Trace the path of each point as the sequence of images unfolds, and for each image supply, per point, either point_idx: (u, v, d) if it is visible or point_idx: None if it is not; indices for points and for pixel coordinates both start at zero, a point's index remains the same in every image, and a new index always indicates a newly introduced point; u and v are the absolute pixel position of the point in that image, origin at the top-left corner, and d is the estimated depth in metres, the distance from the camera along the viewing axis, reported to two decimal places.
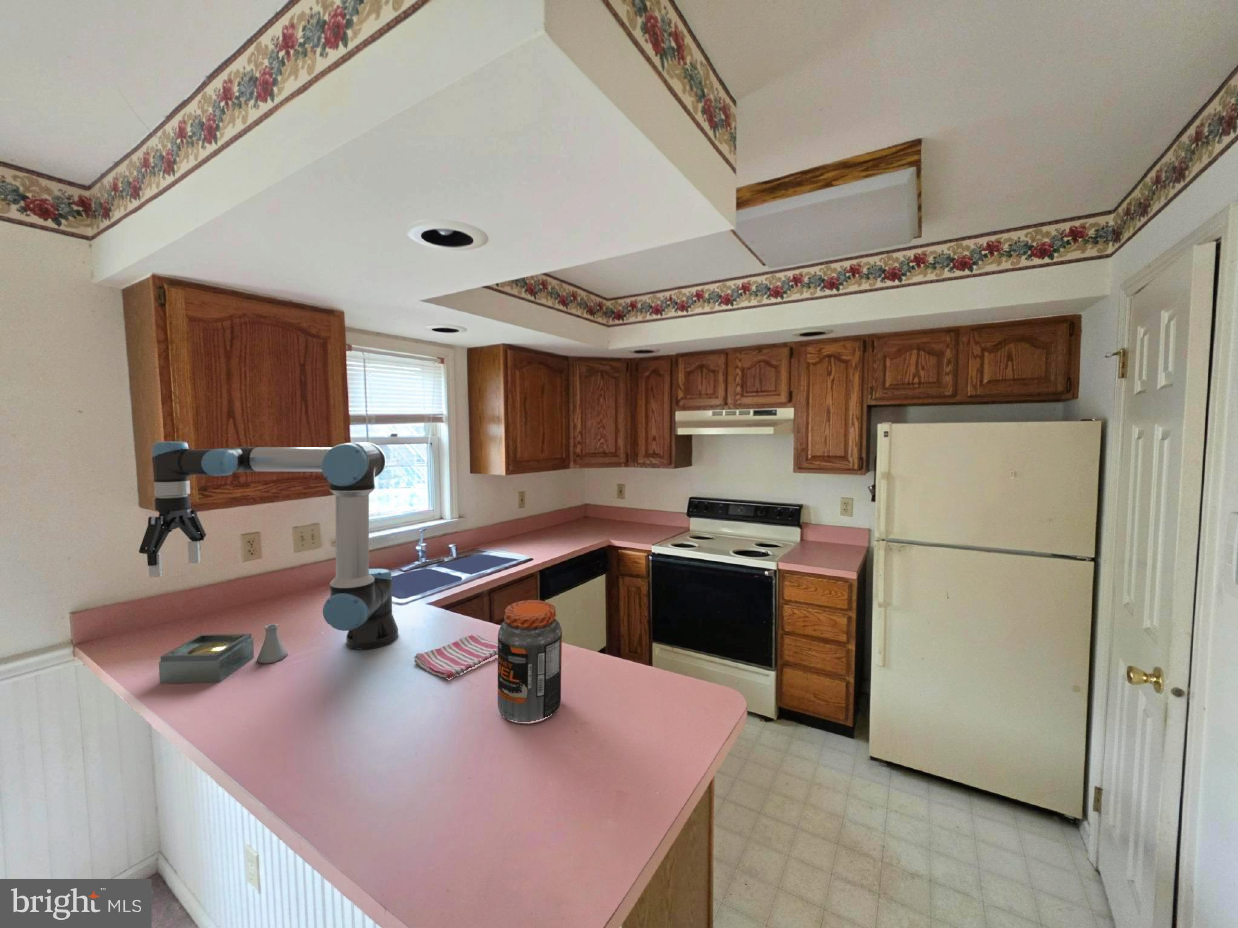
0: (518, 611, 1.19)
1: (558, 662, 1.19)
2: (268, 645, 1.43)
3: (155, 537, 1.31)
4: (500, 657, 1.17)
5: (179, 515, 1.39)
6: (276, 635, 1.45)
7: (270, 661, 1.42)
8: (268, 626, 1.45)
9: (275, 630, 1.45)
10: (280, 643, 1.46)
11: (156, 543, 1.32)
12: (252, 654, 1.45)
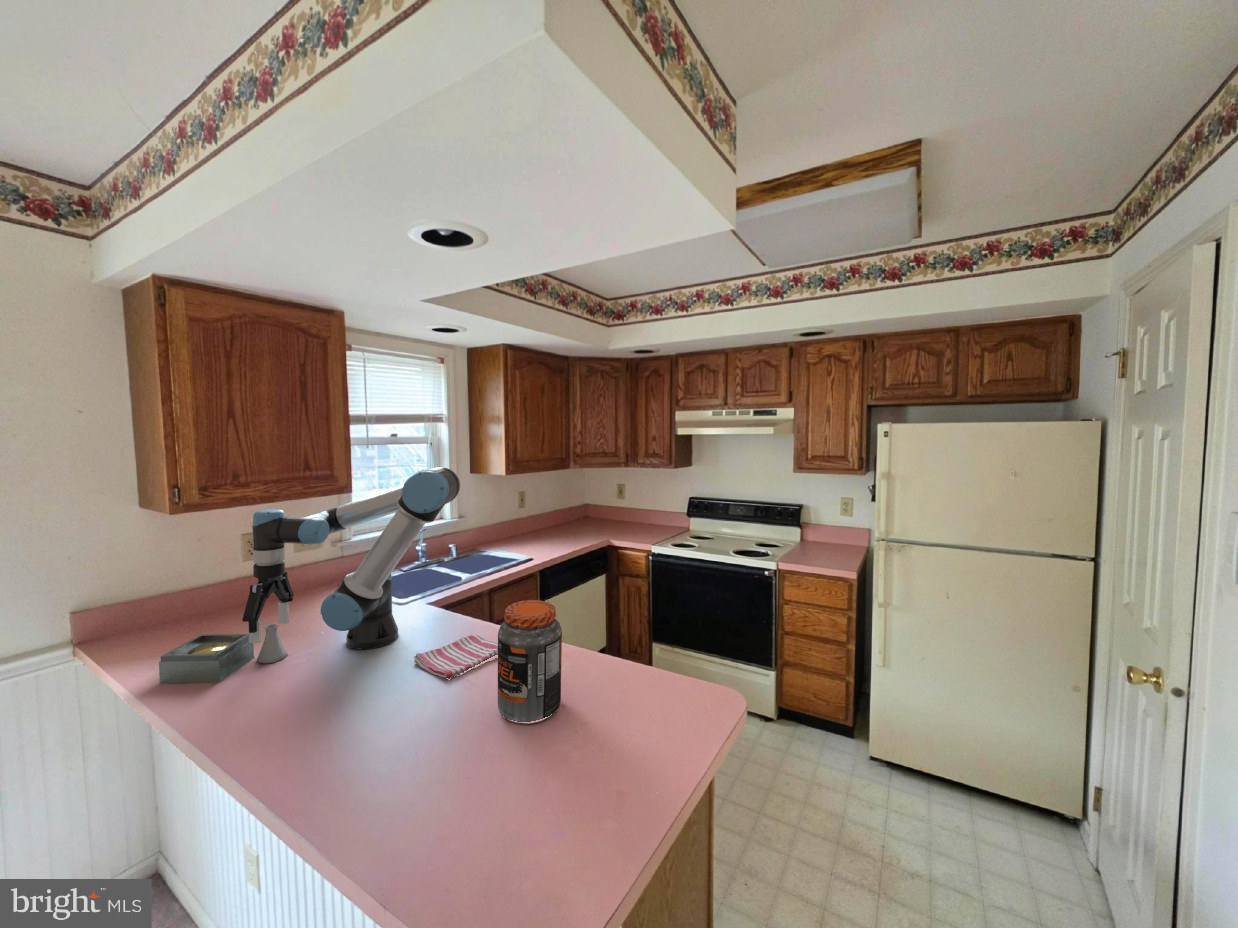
0: (518, 611, 1.19)
1: (558, 662, 1.19)
2: (268, 645, 1.43)
3: (256, 605, 1.36)
4: (500, 657, 1.17)
5: (274, 580, 1.44)
6: (276, 635, 1.45)
7: (270, 661, 1.42)
8: (268, 626, 1.45)
9: (275, 630, 1.45)
10: (280, 643, 1.46)
11: (256, 610, 1.37)
12: (252, 654, 1.45)
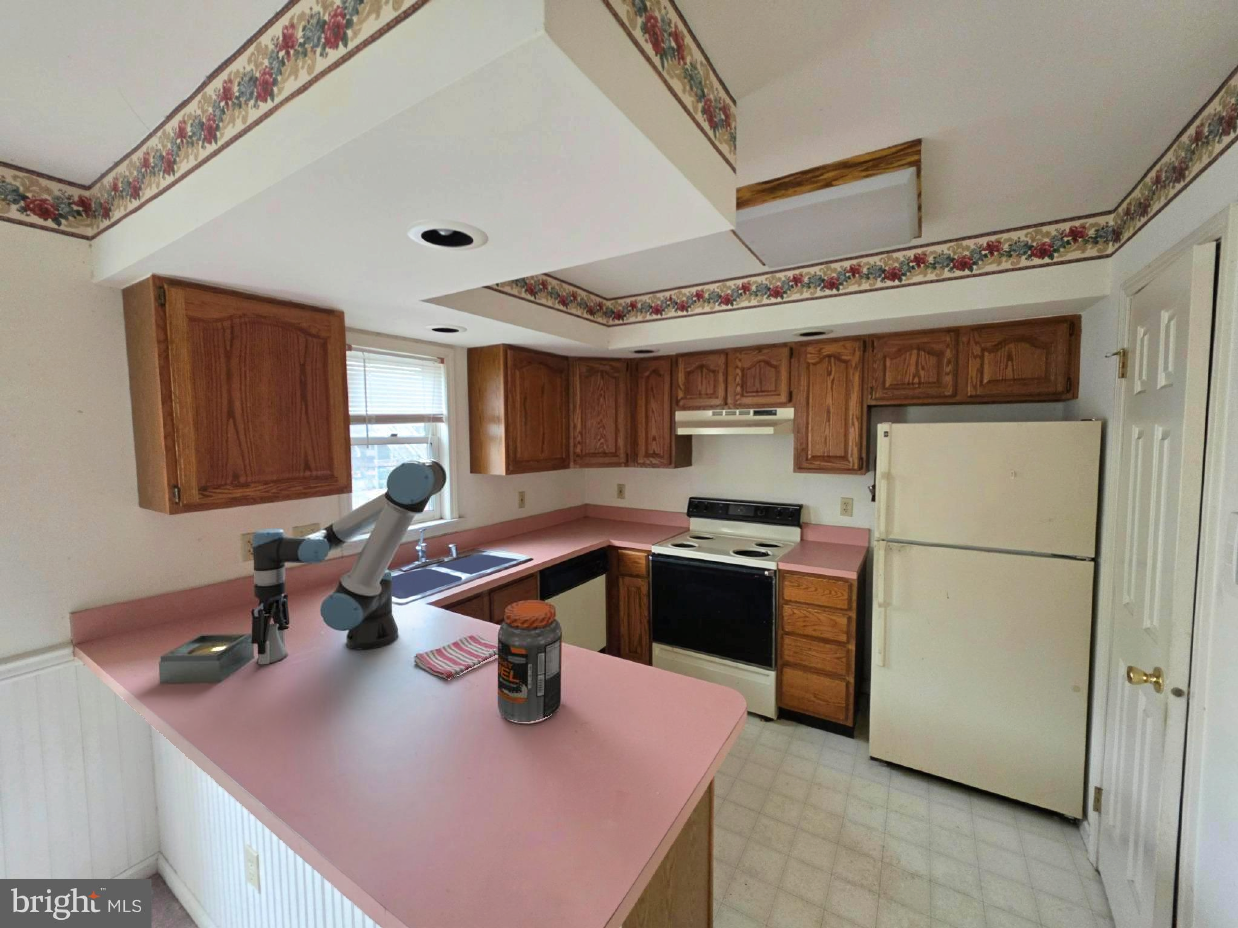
0: (518, 611, 1.19)
1: (558, 662, 1.19)
2: (269, 644, 1.43)
3: (262, 628, 1.39)
4: (500, 657, 1.17)
5: (275, 597, 1.45)
6: (276, 635, 1.45)
7: (270, 661, 1.42)
8: None
9: (275, 630, 1.45)
10: (280, 643, 1.46)
11: (263, 633, 1.40)
12: (252, 654, 1.45)
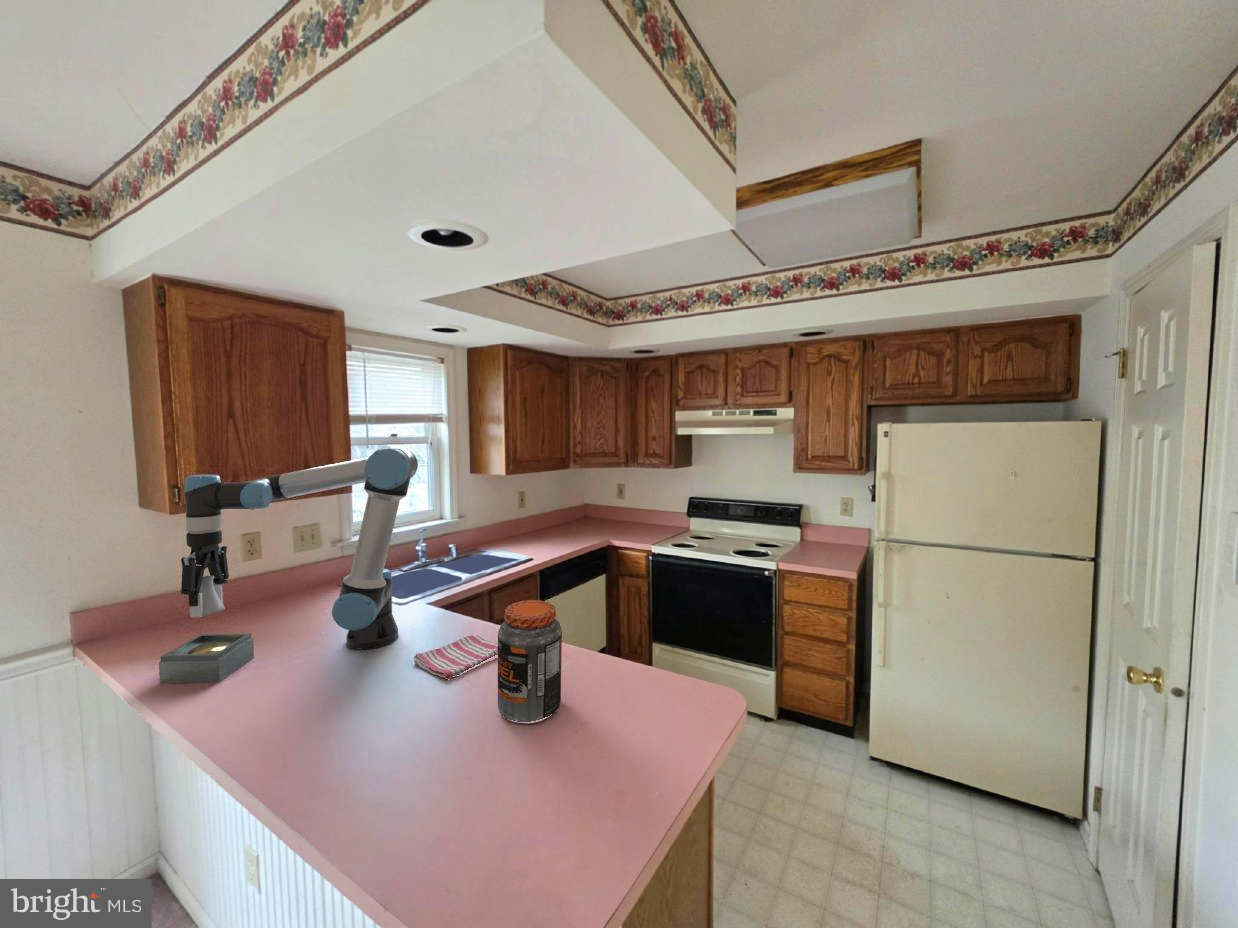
0: (518, 611, 1.19)
1: (558, 662, 1.19)
2: (202, 597, 1.34)
3: (193, 578, 1.30)
4: (500, 657, 1.17)
5: (211, 547, 1.36)
6: (211, 587, 1.36)
7: (204, 614, 1.33)
8: (203, 578, 1.36)
9: (210, 582, 1.36)
10: (216, 596, 1.37)
11: (195, 583, 1.31)
12: (252, 654, 1.45)
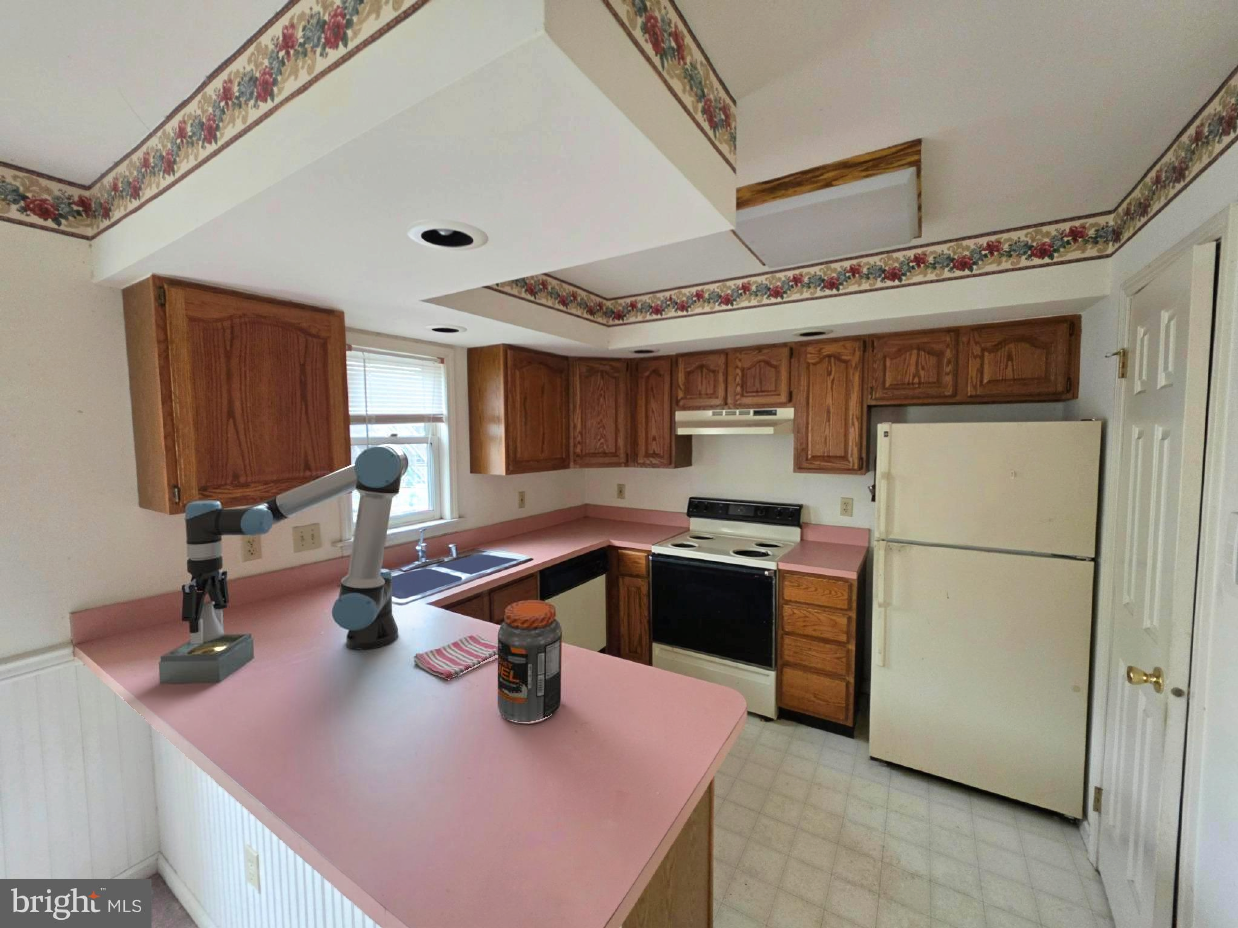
0: (518, 611, 1.19)
1: (558, 662, 1.19)
2: (203, 623, 1.35)
3: (194, 604, 1.30)
4: (500, 657, 1.17)
5: (211, 573, 1.37)
6: (212, 613, 1.37)
7: (204, 640, 1.34)
8: (203, 603, 1.37)
9: (211, 607, 1.36)
10: (216, 621, 1.37)
11: (196, 610, 1.32)
12: (252, 654, 1.45)
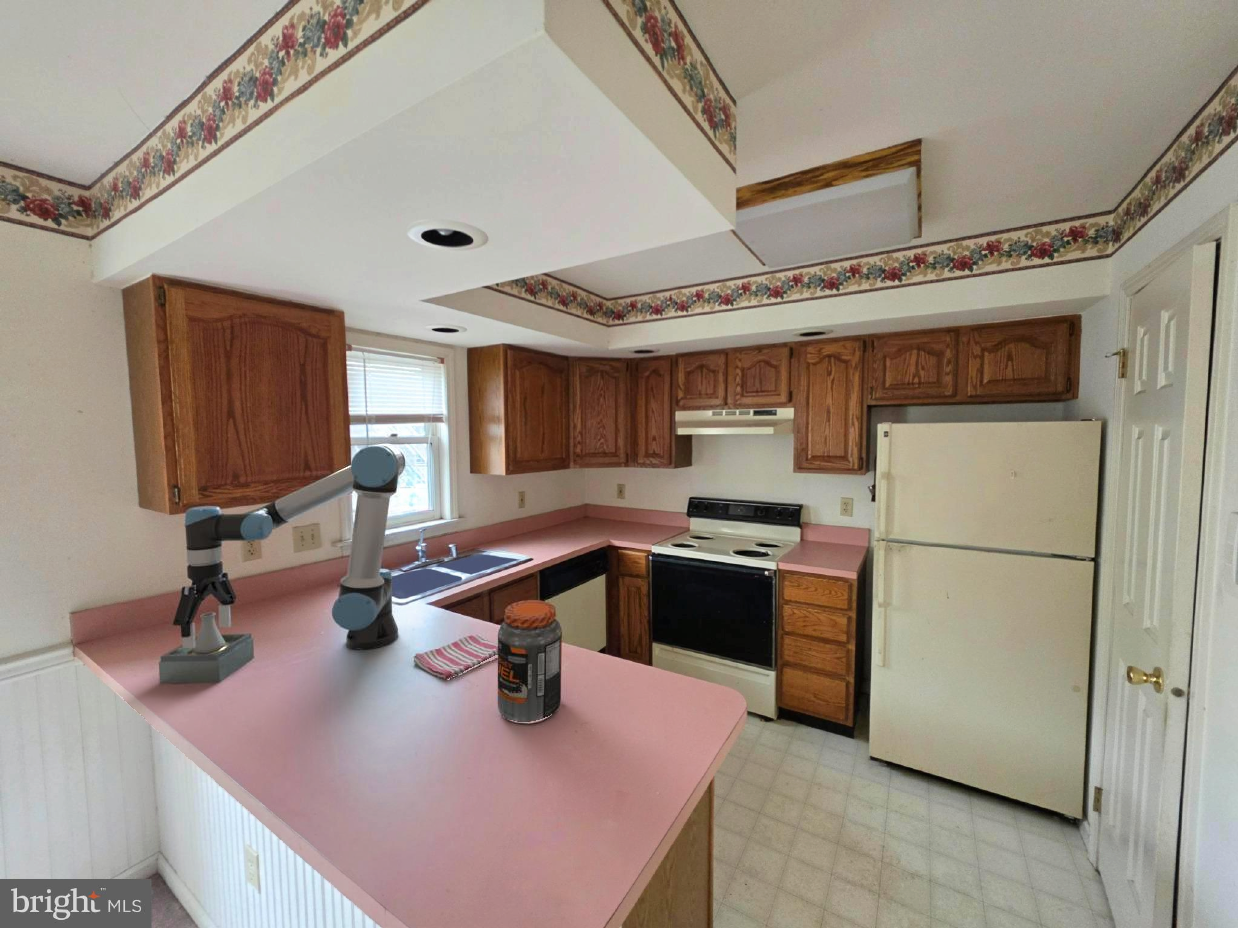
0: (518, 611, 1.19)
1: (558, 662, 1.19)
2: (204, 634, 1.35)
3: (189, 608, 1.29)
4: (500, 657, 1.17)
5: (211, 581, 1.37)
6: (213, 624, 1.37)
7: (205, 651, 1.34)
8: (205, 614, 1.37)
9: (212, 619, 1.37)
10: (218, 632, 1.38)
11: (190, 613, 1.30)
12: (252, 654, 1.45)
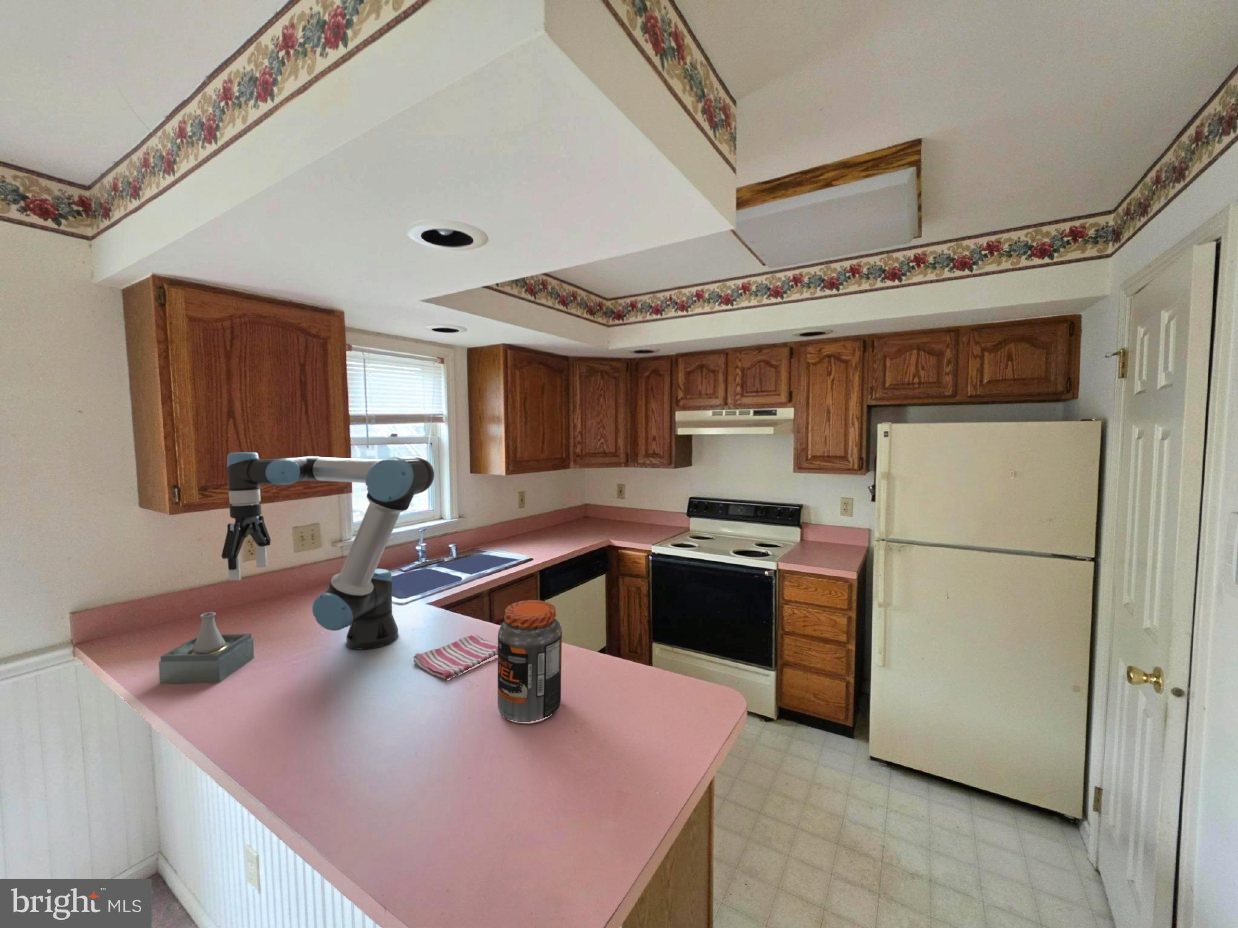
0: (518, 611, 1.19)
1: (558, 662, 1.19)
2: (204, 634, 1.35)
3: (235, 542, 1.40)
4: (500, 657, 1.17)
5: (251, 522, 1.47)
6: (213, 624, 1.37)
7: (205, 651, 1.34)
8: (205, 614, 1.37)
9: (212, 619, 1.37)
10: (218, 632, 1.38)
11: (235, 548, 1.41)
12: (252, 654, 1.45)
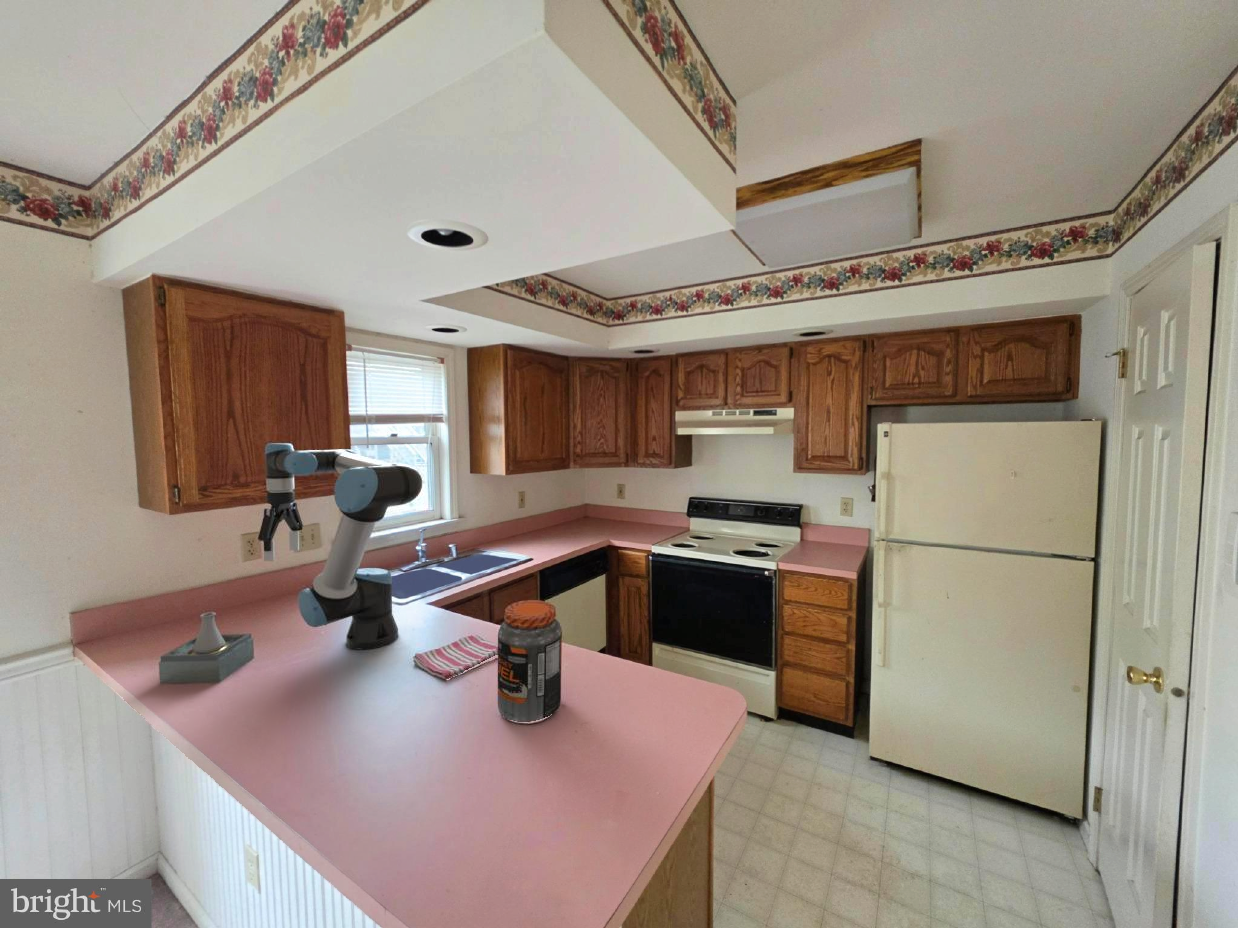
0: (518, 611, 1.19)
1: (558, 662, 1.19)
2: (204, 634, 1.35)
3: (270, 526, 1.51)
4: (500, 657, 1.17)
5: (285, 508, 1.59)
6: (213, 624, 1.37)
7: (205, 651, 1.34)
8: (205, 614, 1.37)
9: (212, 619, 1.37)
10: (218, 632, 1.38)
11: (270, 532, 1.52)
12: (252, 654, 1.45)
